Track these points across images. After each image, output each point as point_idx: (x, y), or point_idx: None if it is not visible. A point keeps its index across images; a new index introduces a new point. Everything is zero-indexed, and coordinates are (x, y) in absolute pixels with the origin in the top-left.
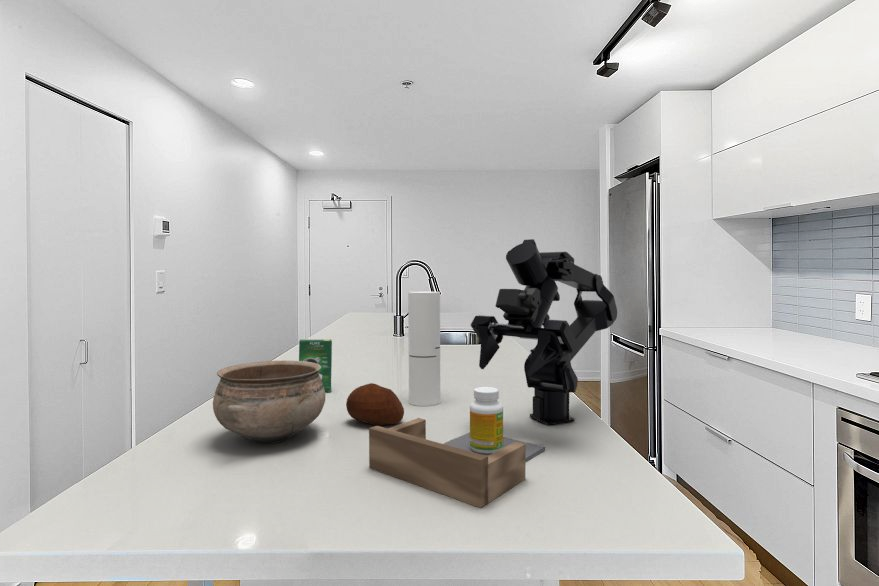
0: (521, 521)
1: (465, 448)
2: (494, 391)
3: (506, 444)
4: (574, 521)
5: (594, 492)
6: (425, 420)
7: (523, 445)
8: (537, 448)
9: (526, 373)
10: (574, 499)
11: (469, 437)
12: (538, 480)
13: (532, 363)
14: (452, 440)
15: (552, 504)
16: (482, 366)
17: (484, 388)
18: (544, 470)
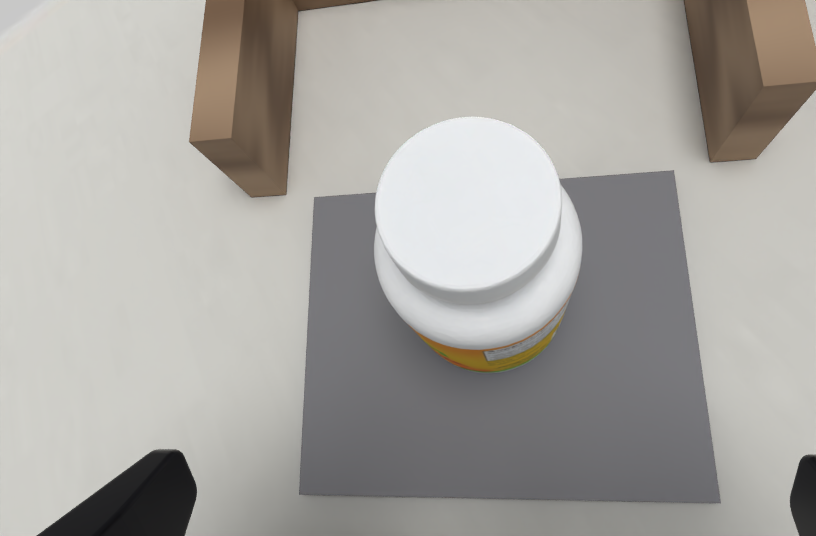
0: (166, 8)
1: None
2: (383, 192)
3: (450, 406)
4: (69, 85)
5: (59, 253)
6: (762, 88)
7: (191, 127)
8: (316, 451)
9: (177, 453)
10: (94, 178)
11: (651, 376)
12: (215, 217)
13: (57, 525)
14: (682, 287)
15: (133, 118)
16: (806, 494)
17: (497, 217)
18: (229, 299)
